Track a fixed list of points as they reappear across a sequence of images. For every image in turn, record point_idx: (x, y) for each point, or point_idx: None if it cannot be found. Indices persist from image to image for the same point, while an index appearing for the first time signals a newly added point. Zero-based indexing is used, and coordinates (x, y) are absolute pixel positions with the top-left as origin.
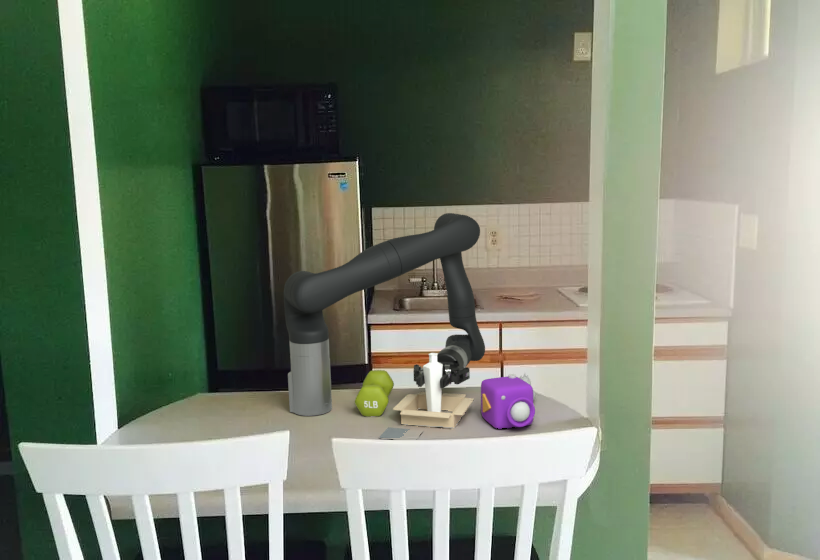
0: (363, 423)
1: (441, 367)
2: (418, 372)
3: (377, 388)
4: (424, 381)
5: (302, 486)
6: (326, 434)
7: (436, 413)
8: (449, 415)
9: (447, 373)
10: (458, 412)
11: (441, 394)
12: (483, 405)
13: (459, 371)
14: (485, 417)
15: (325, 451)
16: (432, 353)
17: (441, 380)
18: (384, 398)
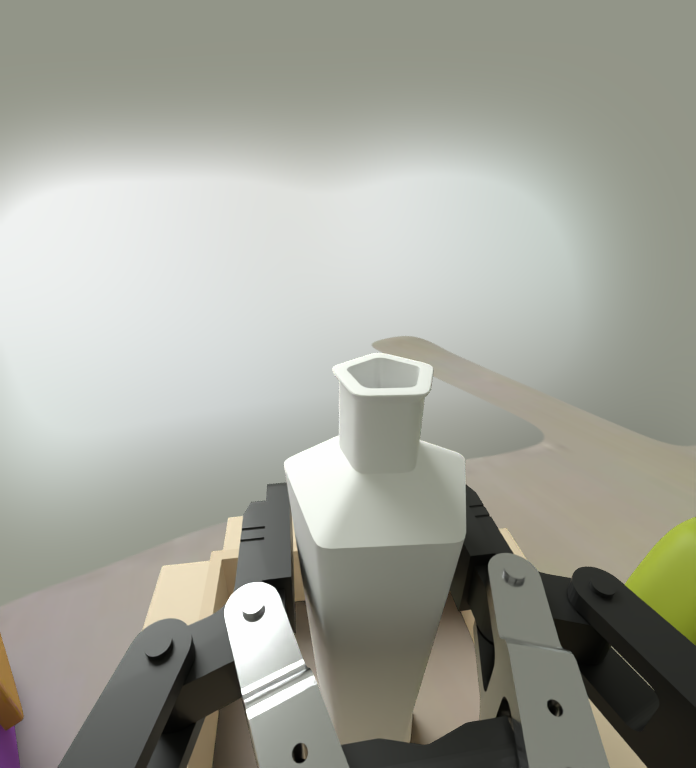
0: (592, 543)
1: (289, 458)
2: (572, 600)
3: (687, 526)
4: (452, 579)
5: (410, 341)
6: (581, 451)
7: (293, 535)
8: (228, 530)
9: (262, 599)
10: (187, 576)
11: (322, 675)
12: (4, 675)
13: (117, 747)
14: (16, 744)
15: (485, 399)
16: (413, 391)
17: (278, 483)
18: (634, 574)
